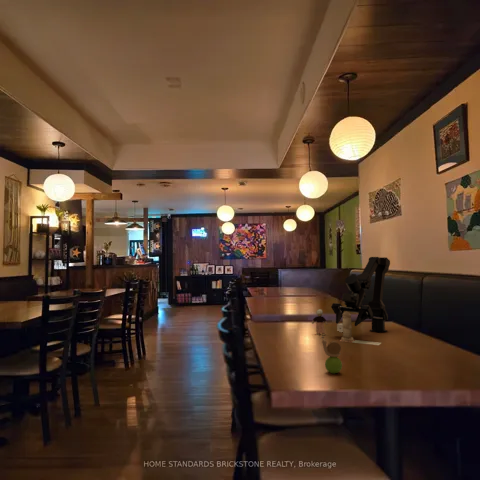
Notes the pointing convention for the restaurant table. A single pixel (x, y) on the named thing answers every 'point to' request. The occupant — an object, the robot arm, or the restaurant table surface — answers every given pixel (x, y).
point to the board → (364, 342)
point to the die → (340, 327)
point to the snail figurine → (332, 356)
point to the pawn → (347, 327)
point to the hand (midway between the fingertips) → (345, 324)
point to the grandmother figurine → (319, 322)
